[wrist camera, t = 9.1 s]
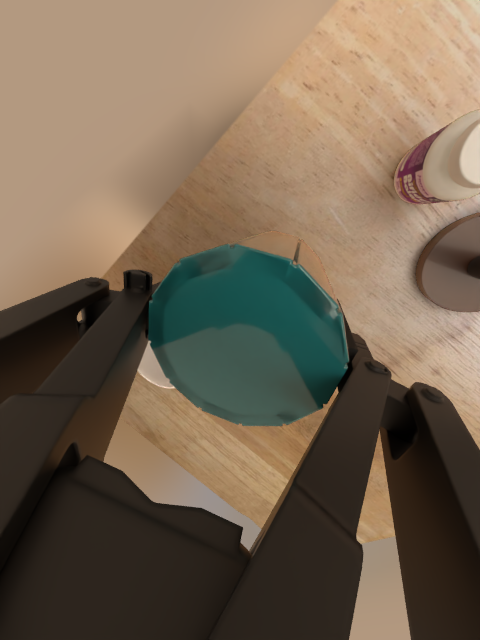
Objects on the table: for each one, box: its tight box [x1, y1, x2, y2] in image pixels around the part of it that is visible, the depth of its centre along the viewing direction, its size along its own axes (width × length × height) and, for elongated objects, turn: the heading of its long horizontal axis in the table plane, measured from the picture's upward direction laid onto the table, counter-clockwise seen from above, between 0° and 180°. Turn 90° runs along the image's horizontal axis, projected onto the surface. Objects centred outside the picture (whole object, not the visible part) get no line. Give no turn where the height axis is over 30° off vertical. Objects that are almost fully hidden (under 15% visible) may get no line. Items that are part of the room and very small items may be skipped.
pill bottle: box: [394, 109, 480, 204], centre depth 17 cm, size 5×5×10 cm
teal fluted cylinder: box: [148, 231, 349, 426], centre depth 13 cm, size 8×8×10 cm
